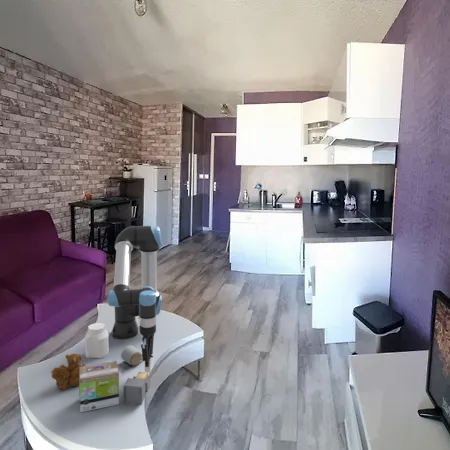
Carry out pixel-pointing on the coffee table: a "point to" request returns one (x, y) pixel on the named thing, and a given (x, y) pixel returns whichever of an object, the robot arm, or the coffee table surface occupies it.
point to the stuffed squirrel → (68, 372)
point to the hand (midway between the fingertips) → (147, 371)
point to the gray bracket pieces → (135, 390)
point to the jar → (96, 341)
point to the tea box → (98, 386)
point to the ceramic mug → (131, 355)
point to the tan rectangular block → (142, 376)
